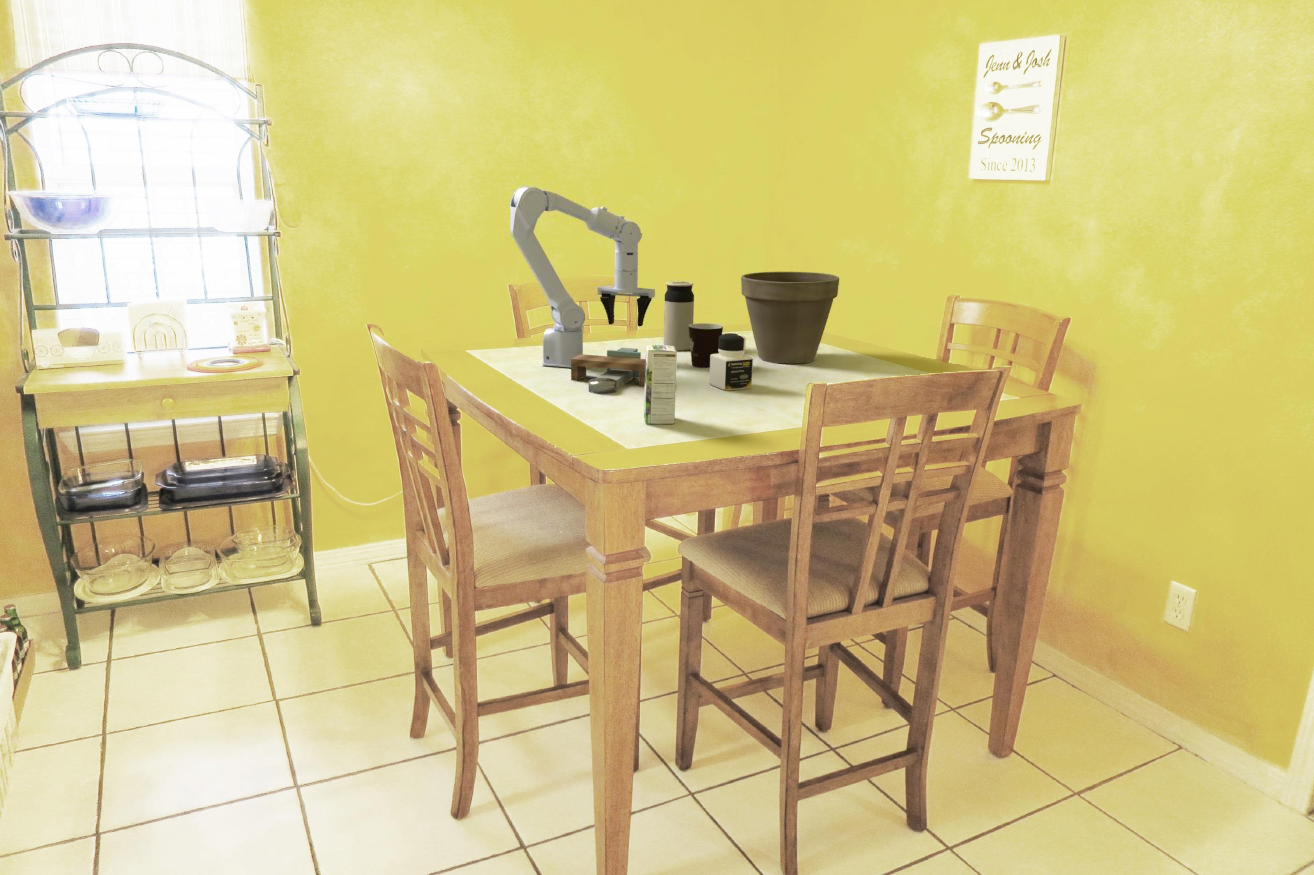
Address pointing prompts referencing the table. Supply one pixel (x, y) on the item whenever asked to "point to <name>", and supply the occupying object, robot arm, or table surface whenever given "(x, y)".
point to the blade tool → (620, 374)
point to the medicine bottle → (731, 364)
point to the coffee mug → (704, 343)
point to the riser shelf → (606, 365)
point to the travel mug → (678, 314)
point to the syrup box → (660, 384)
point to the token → (602, 385)
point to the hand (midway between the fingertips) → (625, 324)
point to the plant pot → (788, 312)
